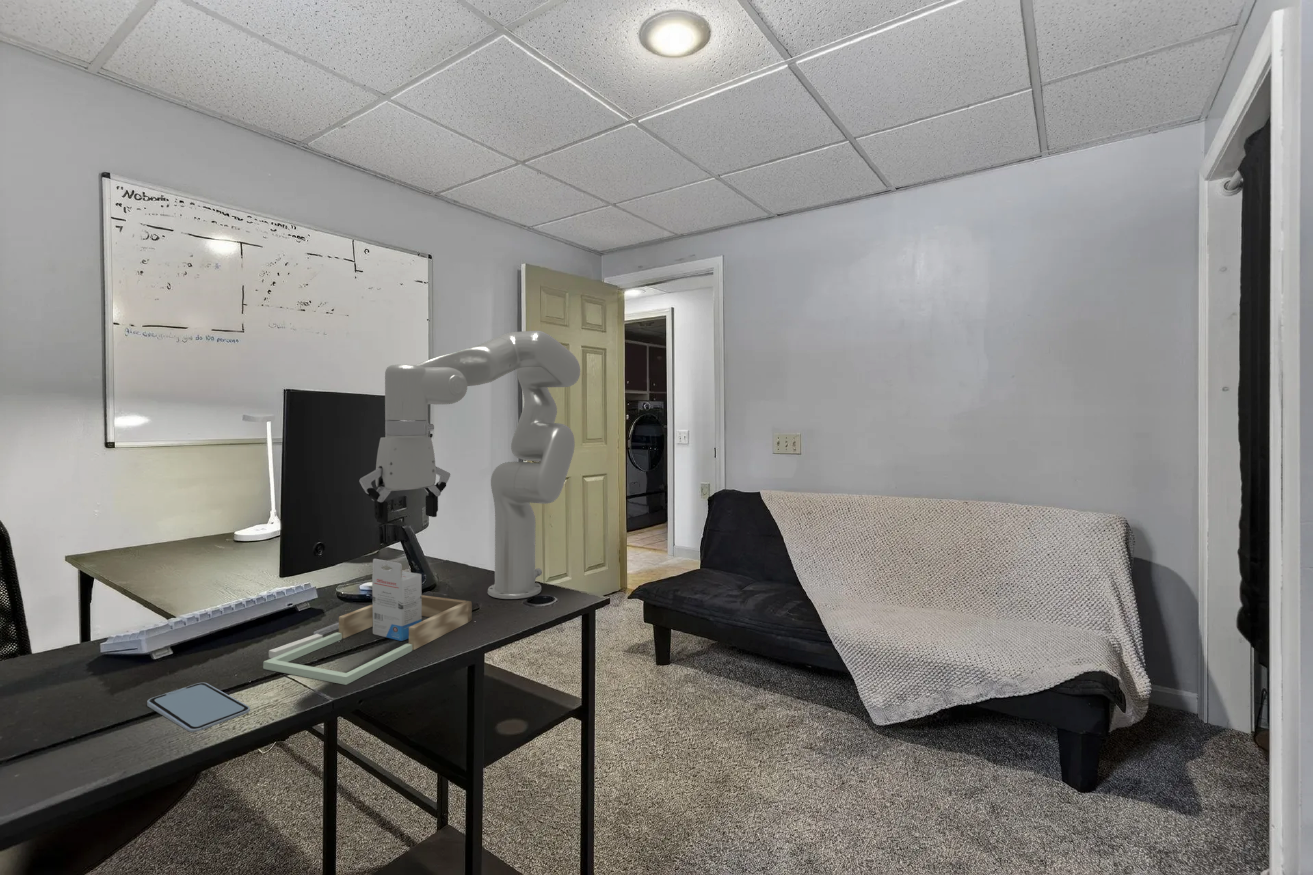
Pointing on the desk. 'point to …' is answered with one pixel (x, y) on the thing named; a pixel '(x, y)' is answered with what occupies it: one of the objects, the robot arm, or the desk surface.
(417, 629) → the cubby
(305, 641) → the stick
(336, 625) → the crook tool
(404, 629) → the ink box
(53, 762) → the desk surface
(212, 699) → the smartphone
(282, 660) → the frame
